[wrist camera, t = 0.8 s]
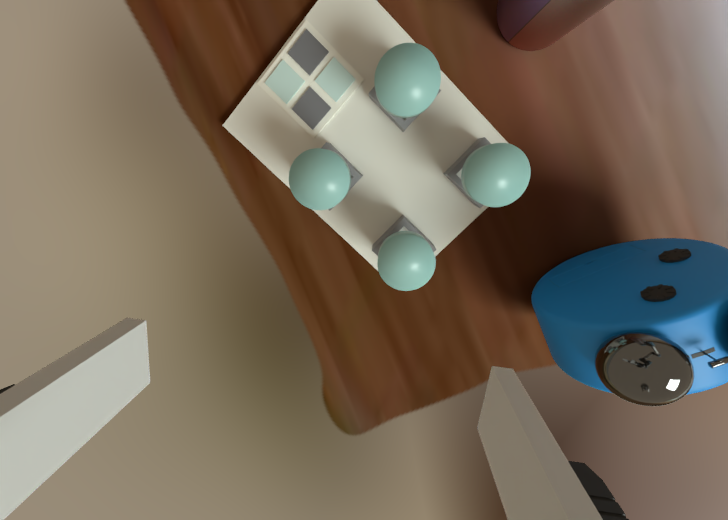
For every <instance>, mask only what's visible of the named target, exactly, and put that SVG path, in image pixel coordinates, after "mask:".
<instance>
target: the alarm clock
mask: <svg viewBox="0 0 728 520" xmlns="http://www.w3.org/2000/svg"><path fill="white" fill-rule="evenodd" d="M531 300H532V305H533V308H534V311H535V313H536V316H537V319H538V321H539V324H540V326H541V329H542V332H543V334H544V337H545V339H546V342H547V345H548V347H549V350H550V352H551V355H552V357H553V359H554V360H555V362H556V363H557V365H558V366H559V367H560V368H561V369H562V370H563V371H564V372H565V373H567V374H568V375H569V376H571V377H572V378H574V379H576V380H578V381H579V382H582V383H584V384H586V385H588V386H590V387H593V388H596V389H599V390H603V391H606V392H610V393H614V394H615V395H617V396H618V397H620V398H622V399H624V400H626V401H628V402H631V403H634V404H638V405H644V406H662V405H667V404H670V403H673V402H675V401H677V400H679V399H681V398H682V397H684V396H685V395H686V394H692V393H697V392H701V391H705V390H708V389H712V388H715V387H717V386H720V385H723V384H725V383H727V382H728V249H727V248H725V247H722V246H719V245H716V244H713V243H709V242H704V241H698V240H690V239H675V238H664V239H647V240H638V241H631V242H624V243H619V244H614V245H610V246H606V247H602V248H599V249H595V250H592V251H589V252H586V253H583V254H581V255H578V256H576V257H573V258H571V259H569V260H567V261H565V262H563V263H561V264H559V265H558V266H556V267H554V268H553V269H551V270H550V271H549V272H548V273H546V274H545V275H544V276H543V277H542V278H541V279H540V280H539V281H538V282H537V284H536V285H535V287H534V289H533V292H532V296H531Z"/></svg>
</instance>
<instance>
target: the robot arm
mask: <svg viewBox="0 0 728 520" xmlns="http://www.w3.org/2000/svg"><path fill="white" fill-rule="evenodd" d="M149 383H150V373H149V356H148V341H147V326H146V320H140V319H133V318H125V319H124V320H122V321H120V322H119V323H117V324H116V325H114V326H112V327H110V328H109V329H107V330H106V331H104V332H102V333H101V334H99V335H97V336H96V337H94V338H92V339H91V340H89V341H87V342H86V343H84V344H82V345H81V346H79V347H77V348H76V349H74V350H72V351H71V352H69V353H68V354H66V355H64V356H63V357H61V358H59V359H58V360H56V361H54V362H52V363H51V364H49V365H47V366H46V367H44V368H42V369H41V370H39V371H38V372H36V373H34V374H33V375H31V376H29V377H28V378H26V379H24V380H23V381H21V382H19V383H18V384H16V385H15V384H13V385H11V386H8V387H6V388H3V389H1V390H0V520H4V519H5V518H6V517H7V516H8V515H9V514H10V513H11V512H12V511H13V510H15V509H16V508H17V507H18V506H19V505H20V504H21V503H22V502H23V501H24V500H25V499H26V498H27V497H28V496H29V495H31V494H32V492H34V491H35V490H36V489H37V488H38V487H39V486H40V485H41V484H42V483H43V482H44V481H46V480H47V479H48V478H49V477H50V476H51V475H52V474H53V473H54V472H55V471H56V470H57V469H58V468H59V467H60V466H62V465H63V464H64V463H65V462H66V461H67V460H68V459H69V458H70V457H71V456H72V455H73V454H74V453H75V452H76V451H78V449H80V448H81V447H82V446H83V445H84V444H85V443H86V442H87V441H88V440H89V439H90V438H92V436H94V435H95V434H96V433H97V432H98V431H99V430H100V429H101V428H102V427H103V426H104V425H105V424H106V423H107V422H109V421H110V420H111V419H112V418H113V417H114V416H115V415H116V414H117V413H118V412H119V411H120V410H121V409H122V408H123V407H125V406H126V405H127V404H128V403H129V402H130V401H131V400H132V399H133V398H134V397H135V396H136V395H137V394H139V392H141V391H142V390H143V389H144V388H145V387H146V386H147V385H148V384H149ZM477 428H478V431H479V435H480V437H481V441H482V444H483V447H484V450H485V453H486V456H487V459H488V462H489V465H490V468H491V471H492V473H493V477H494V480H495V483H496V485H497V489H498V492H499V495H500V498H501V501H502V504H503V507H504V510H505V513H506V515H507V518H508V520H629V519H626V516H625V513H624V512H623V510H622V509H621V508H620V506H619V504H618V503H617V502H615V498H614V497H613V495H612V494H611V492H610V491H609V489H608V488H607V486H606V485H605V483H604V482H603V480H602V479H601V478H599V477H598V476H597V475H596V474H595V473H594V472H593V471H592V470H591V469H590V468H589V467H588V466H587V465H586V464H585V463H579V462H572V461H568V460H567V459H566V457H565V455H564V454H563V452H562V450H561V449H560V447H559V445H558V444H557V442H556V440H555V439H554V437H553V435H552V434H551V432H550V430H549V429H548V427H547V425H546V424H545V422H544V420H543V419H542V417H541V415H540V414H539V412H538V410H537V409H536V407H535V405H534V404H533V402H532V400H531V398H530V397H529V395H528V393H527V392H526V390H525V389H524V387H523V385H522V383H521V382H520V380H519V378H518V377H517V375H516V373H515V372H514V370H513V369H509V368H502V367H494V366H492V368H491V372H490V377H489V381H488V385H487V389H486V393H485V398H484V402H483V406H482V410H481V414H480V418H479V422H478V427H477Z"/></svg>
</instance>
